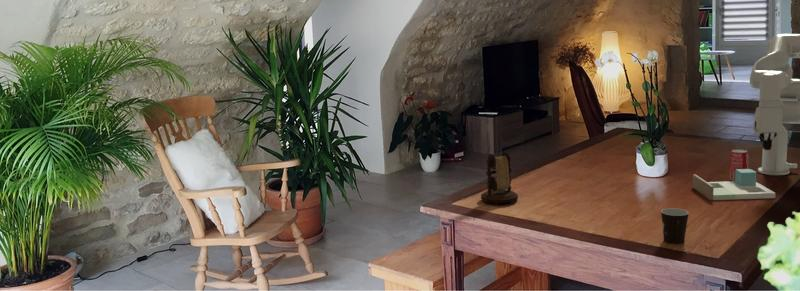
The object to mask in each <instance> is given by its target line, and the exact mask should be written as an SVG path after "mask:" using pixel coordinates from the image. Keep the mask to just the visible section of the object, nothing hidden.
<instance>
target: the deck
mask: <svg viewBox="0 0 800 291" xmlns="http://www.w3.org/2000/svg"><path fill="white" fill-rule="evenodd" d="M692 188H693V189H694V190H696V192H698V193H700V194H701V195H703V196H704V197H706V199H708V200H710V201H726V200H727V201H729V200H730V201H732V200H753V199H754V200H755V199H776V195H777V194H776V192H774V191H773V190H771V189H769V188H767V187H766V186H765V185H763V184H761V183H759V182H757V181H756V186H740V185H738V184H737V183H735V181H731V180H730V181H725V180H724V181H706V180H704V179H703V178H702V177H700V176H699V175H698V174H696V173H695V174H693V175H692Z"/></svg>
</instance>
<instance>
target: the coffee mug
mask: <svg viewBox="0 0 800 291" xmlns="http://www.w3.org/2000/svg"><path fill="white" fill-rule="evenodd" d="M660 212H661V213H660V214H661V223H662V225H661V226H662V234H663V235H662V236H663V242H665V243H667V244H672V245H680V244H683V243H684V242H685V238H686V232H687V227H688V226H687V225H688V221H689V220H688V219H689V215H690V214H689V213H690V212H689V211H688V210H686V209H683V208H674V207H672V208H671V207H669V208H663V209H661V211H660Z"/></svg>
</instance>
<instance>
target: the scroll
mask: <svg viewBox="0 0 800 291" xmlns="http://www.w3.org/2000/svg"><path fill="white" fill-rule="evenodd" d="M511 159H512V157H511V156H510V154H509V153H508V152H507V151H503V152H502V153H501V156H495V155H494V153H490V154H488V157H487V159H486V165H487V168H486V172H485V173H486V174H485V175H486V176H487V180H486V181H487V183H486V186H487V190H485V191H484V192H483V193H481V195H480V199H481V200H482V202H483V201H484V202H488V203H494V205H495V206H498V205H499V204H505V203H511V202H515V203H518V199H519V194H518V193H517V192H516V191H514V190H511V189H512V186H511V184H512V179H511V177H512V175H511V172H512V171H513V170H512V167H511V166H512V165H511ZM492 175H496V178H495V177H494V176H492ZM498 203H499V204H498Z"/></svg>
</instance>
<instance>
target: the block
mask: <svg viewBox="0 0 800 291" xmlns="http://www.w3.org/2000/svg"><path fill="white" fill-rule="evenodd" d="M757 173H758V171H755V170H753V169H751V168H748V169H736V171H735V183H737V184H738V185H740V186H756V182H757V175H758V174H757Z"/></svg>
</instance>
